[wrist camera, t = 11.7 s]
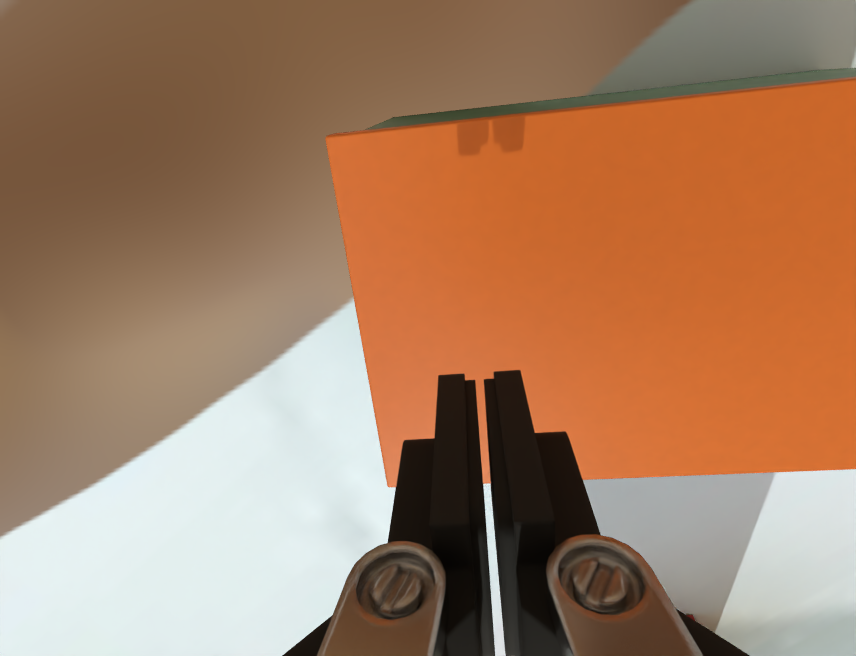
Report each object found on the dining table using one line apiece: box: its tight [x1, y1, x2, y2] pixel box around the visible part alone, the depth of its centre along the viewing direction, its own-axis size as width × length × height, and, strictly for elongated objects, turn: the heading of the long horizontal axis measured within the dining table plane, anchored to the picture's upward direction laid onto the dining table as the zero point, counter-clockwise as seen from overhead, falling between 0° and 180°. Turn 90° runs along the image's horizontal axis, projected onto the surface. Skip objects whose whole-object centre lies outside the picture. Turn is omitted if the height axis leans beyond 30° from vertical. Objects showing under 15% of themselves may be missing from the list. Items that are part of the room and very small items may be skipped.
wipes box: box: [365, 68, 856, 130], centre depth 18 cm, size 16×12×7 cm
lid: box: [326, 77, 856, 487], centre depth 15 cm, size 16×12×1 cm
